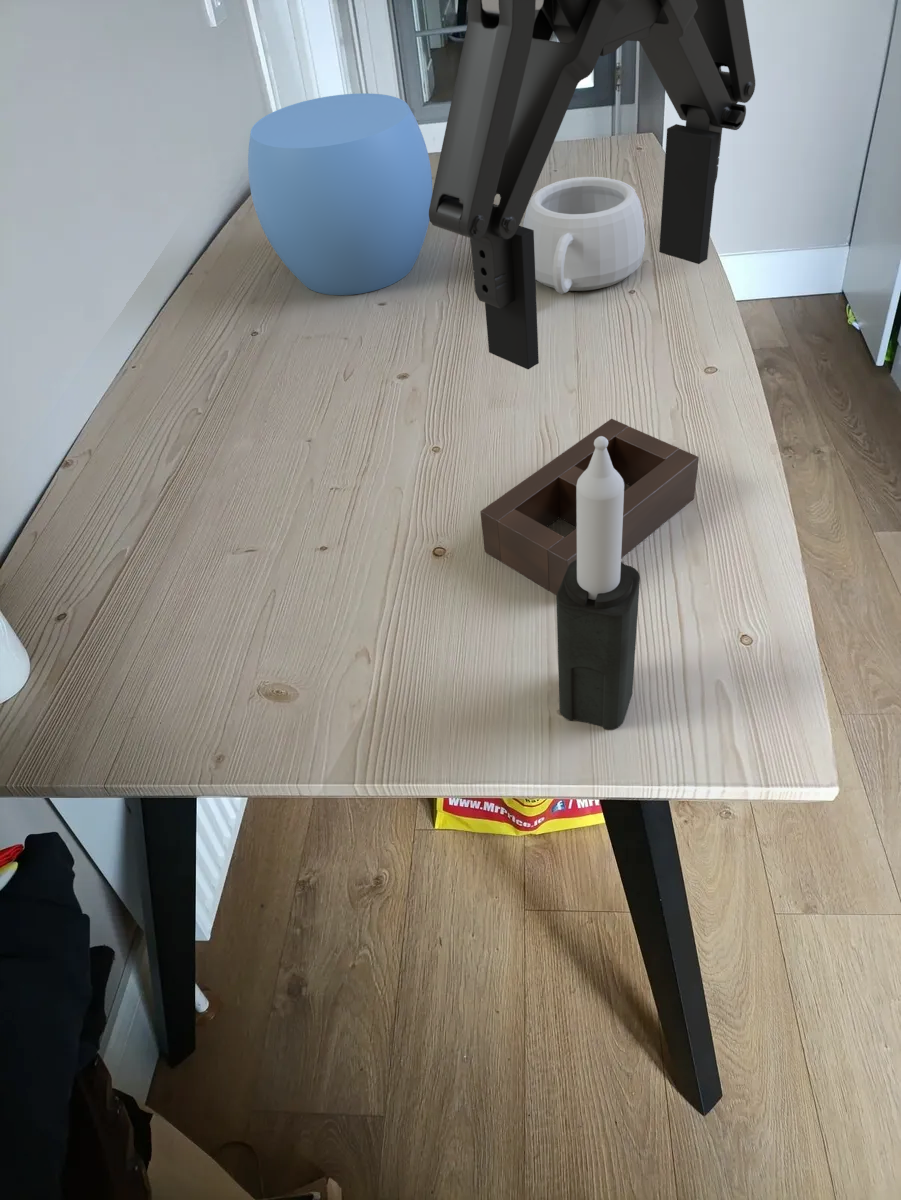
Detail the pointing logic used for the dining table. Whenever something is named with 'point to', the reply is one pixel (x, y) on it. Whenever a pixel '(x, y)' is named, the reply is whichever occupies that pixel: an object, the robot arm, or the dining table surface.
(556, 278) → the mug
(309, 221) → the blue rounded stool
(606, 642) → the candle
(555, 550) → the rack
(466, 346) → the dining table surface
